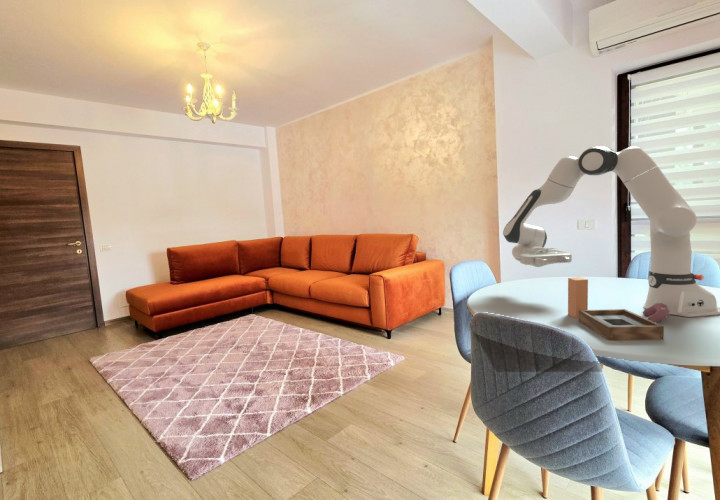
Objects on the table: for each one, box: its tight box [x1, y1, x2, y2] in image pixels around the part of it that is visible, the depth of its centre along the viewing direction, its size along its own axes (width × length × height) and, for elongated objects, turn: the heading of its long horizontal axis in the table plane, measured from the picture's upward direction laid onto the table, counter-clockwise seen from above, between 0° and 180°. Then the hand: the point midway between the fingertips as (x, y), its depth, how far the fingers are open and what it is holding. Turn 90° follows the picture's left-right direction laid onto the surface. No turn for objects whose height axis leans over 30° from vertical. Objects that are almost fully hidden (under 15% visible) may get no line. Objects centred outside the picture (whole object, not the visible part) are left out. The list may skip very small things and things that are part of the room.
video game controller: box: [642, 303, 670, 323], centre depth 118 cm, size 10×5×7 cm, turn 148°
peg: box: [567, 276, 589, 319], centre depth 126 cm, size 4×4×14 cm
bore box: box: [578, 308, 665, 341], centre depth 111 cm, size 15×18×4 cm
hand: (556, 261), depth 137 cm, fingers open, 8 cm apart
